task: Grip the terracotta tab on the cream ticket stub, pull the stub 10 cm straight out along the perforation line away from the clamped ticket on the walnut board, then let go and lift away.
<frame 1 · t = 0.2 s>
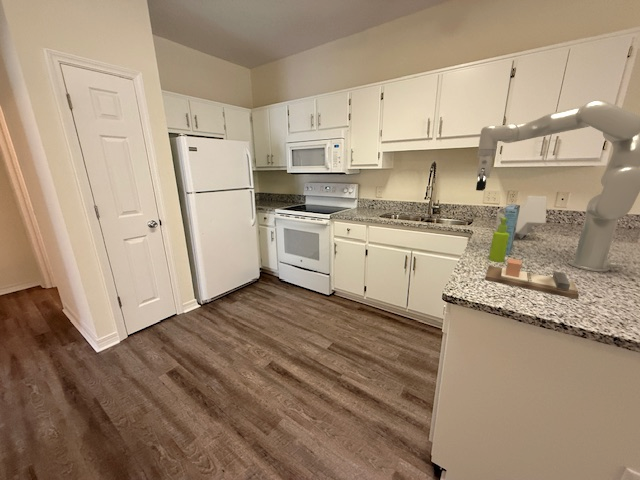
hand: (480, 189, 131), 31 cm above the worktop, tool pointing down, fingers open, 9 cm apart
ticket stub: (515, 268, 100), point 4 cm above the worktop, slide at 0.0 cm
white box: (514, 237, 164), on the worktop
soap dispenser: (495, 260, 123), on the worktop
light blue box: (504, 250, 138), on the worktop
ticket board: (527, 282, 99), on the worktop
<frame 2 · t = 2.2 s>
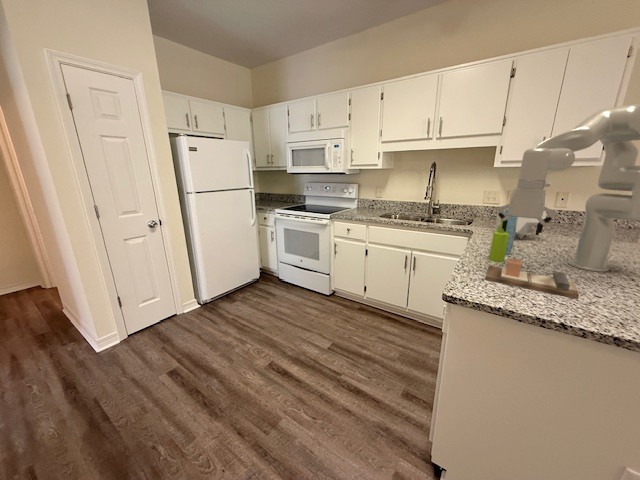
hand: (520, 232, 97), 18 cm above the worktop, tool pointing down, fingers open, 9 cm apart
nothing on the worktop moved.
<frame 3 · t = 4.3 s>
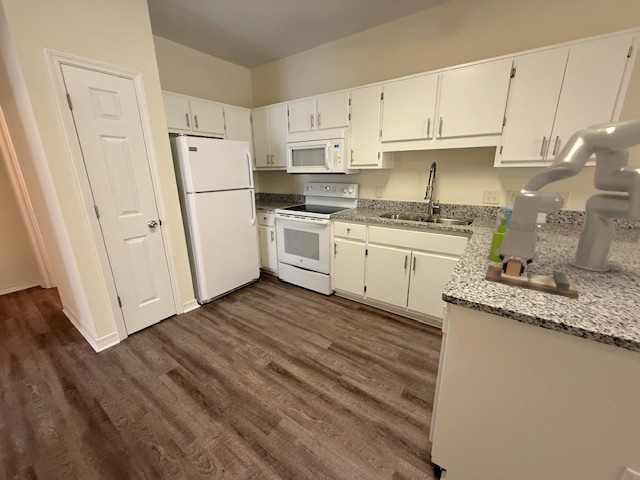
hand: (512, 272, 101), 3 cm above the worktop, tool pointing down, fingers closed on ticket stub, 4 cm apart
ticket stub: (515, 268, 100), point 4 cm above the worktop, slide at 0.0 cm, touching gripper
everything else where it was.
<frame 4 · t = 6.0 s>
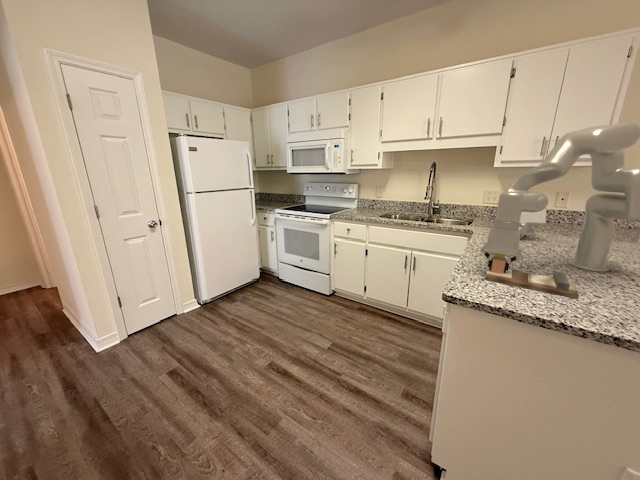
hand: (497, 270, 104), 3 cm above the worktop, tool pointing down, fingers closed on ticket stub, 4 cm apart
ticket stub: (500, 266, 103), point 4 cm above the worktop, slide at 4.8 cm, touching gripper
everything else where it was.
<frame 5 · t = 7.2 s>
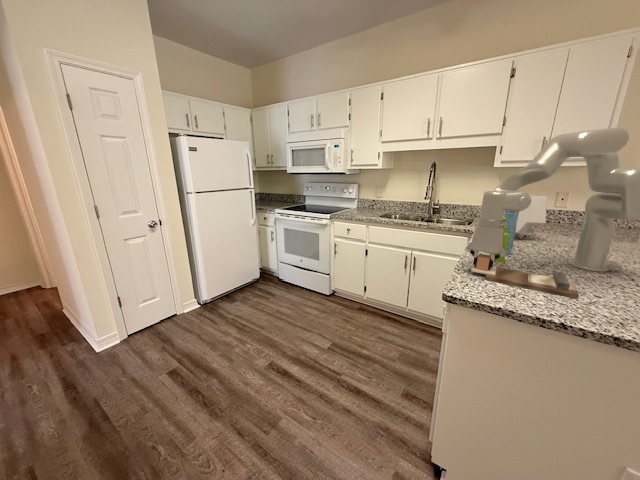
hand: (482, 267, 106), 3 cm above the worktop, tool pointing down, fingers closed on ticket stub, 4 cm apart
ticket stub: (485, 263, 106), point 4 cm above the worktop, slide at 9.9 cm, touching gripper
everything else where it was.
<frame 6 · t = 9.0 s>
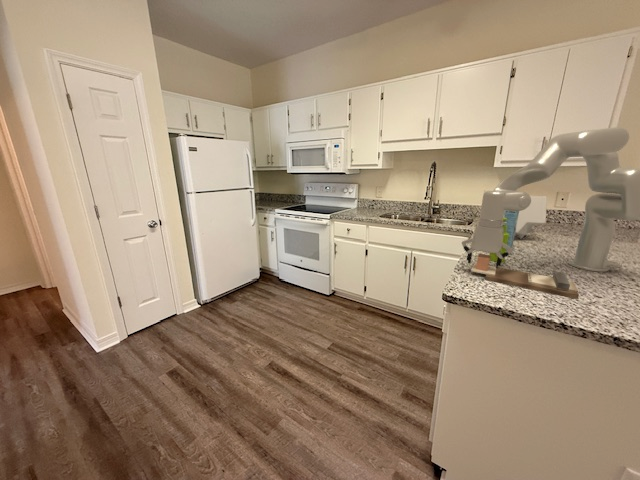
hand: (482, 264, 106), 4 cm above the worktop, tool pointing down, fingers open, 9 cm apart
ticket stub: (484, 263, 106), point 4 cm above the worktop, slide at 10.0 cm
everything else where it was.
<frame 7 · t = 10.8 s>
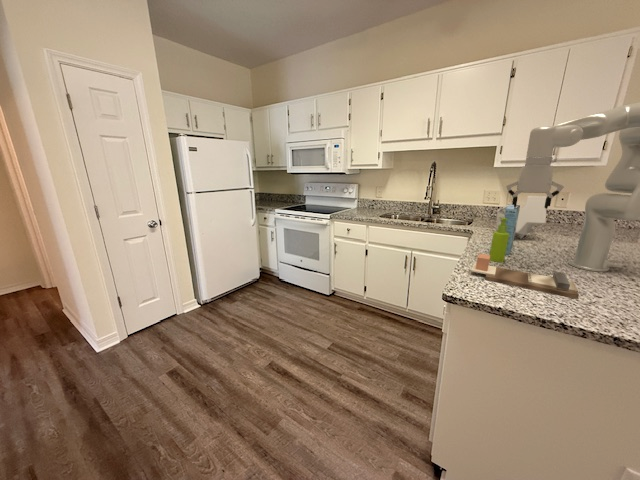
hand: (529, 207, 103), 27 cm above the worktop, tool pointing down, fingers open, 9 cm apart
nothing on the worktop moved.
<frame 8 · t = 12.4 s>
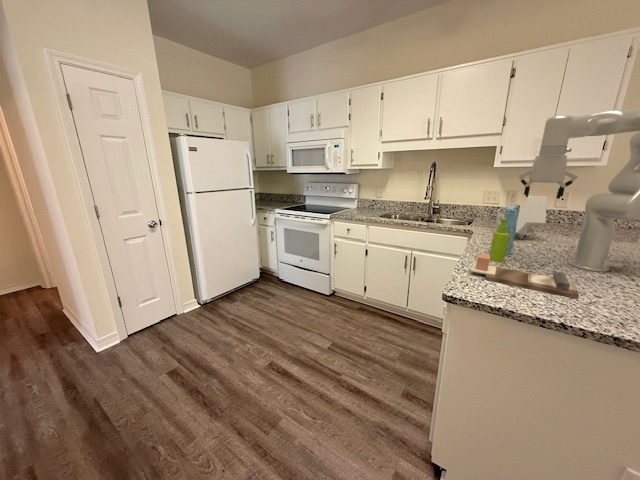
hand: (541, 197, 103), 30 cm above the worktop, tool pointing down, fingers open, 9 cm apart
nothing on the worktop moved.
at the end: ticket stub slide at 10.0 cm; the gripper is holding nothing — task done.
